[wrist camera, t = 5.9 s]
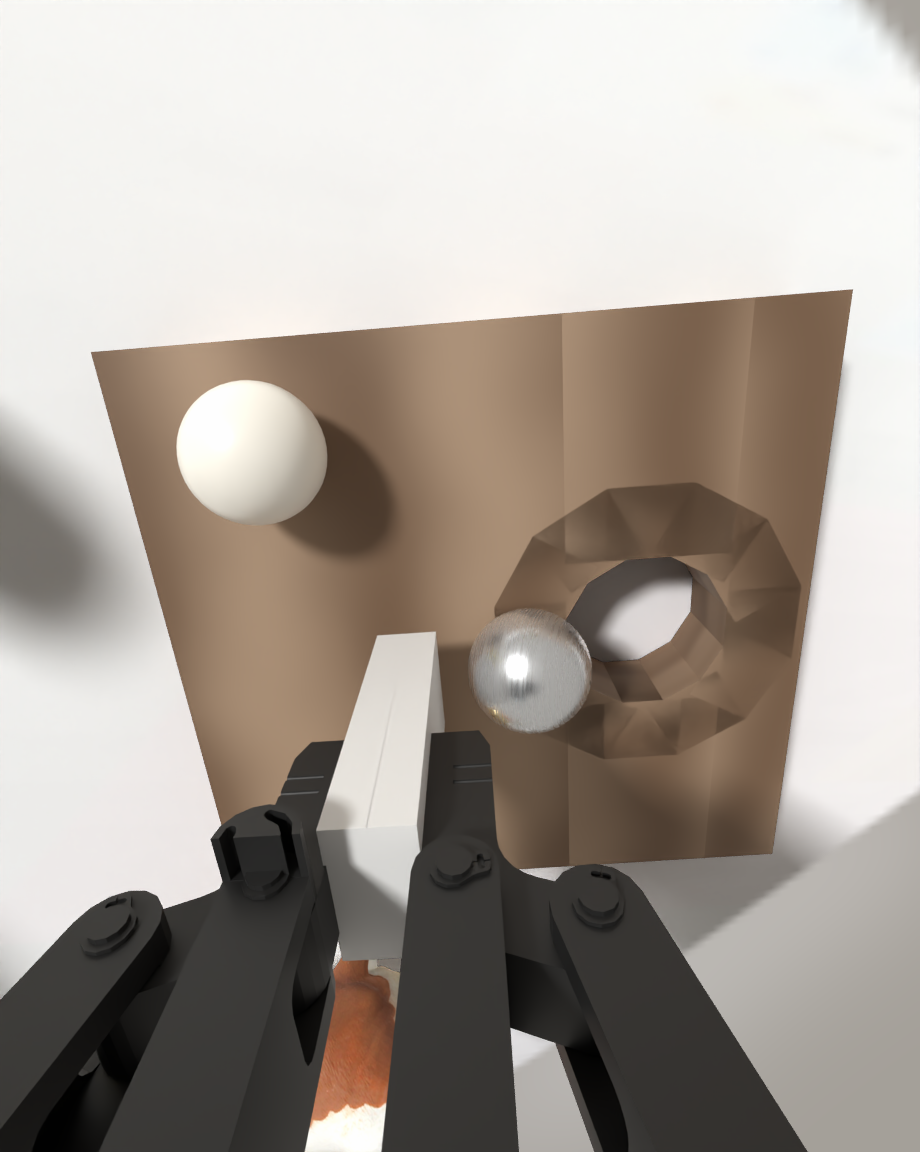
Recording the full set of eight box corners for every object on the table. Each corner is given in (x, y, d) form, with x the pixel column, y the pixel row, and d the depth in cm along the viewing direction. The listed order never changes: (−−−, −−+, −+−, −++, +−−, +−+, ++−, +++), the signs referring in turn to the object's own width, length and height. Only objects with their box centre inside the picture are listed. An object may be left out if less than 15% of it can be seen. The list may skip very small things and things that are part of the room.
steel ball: (599, 698, 16) (492, 684, 18) (600, 594, 15) (486, 586, 16) (581, 770, 14) (454, 748, 15) (580, 649, 12) (444, 635, 14)
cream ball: (227, 511, 15) (170, 548, 12) (198, 383, 14) (128, 389, 11) (347, 502, 15) (320, 537, 12) (328, 373, 14) (294, 375, 11)
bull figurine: (506, 929, 24) (529, 1196, 16) (212, 1000, 25) (106, 1277, 18) (474, 852, 22) (483, 1105, 15) (165, 931, 24) (26, 1200, 16)
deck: (261, 830, 22) (238, 886, 20) (144, 354, 16) (91, 352, 14) (738, 800, 22) (772, 853, 19) (794, 300, 16) (853, 289, 13)
